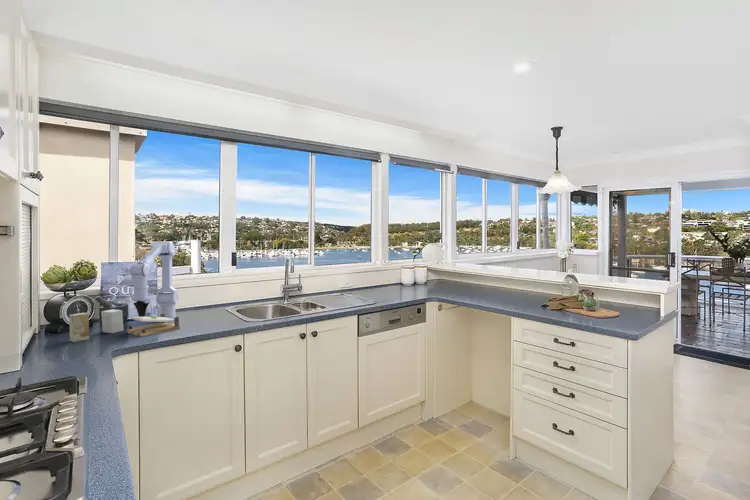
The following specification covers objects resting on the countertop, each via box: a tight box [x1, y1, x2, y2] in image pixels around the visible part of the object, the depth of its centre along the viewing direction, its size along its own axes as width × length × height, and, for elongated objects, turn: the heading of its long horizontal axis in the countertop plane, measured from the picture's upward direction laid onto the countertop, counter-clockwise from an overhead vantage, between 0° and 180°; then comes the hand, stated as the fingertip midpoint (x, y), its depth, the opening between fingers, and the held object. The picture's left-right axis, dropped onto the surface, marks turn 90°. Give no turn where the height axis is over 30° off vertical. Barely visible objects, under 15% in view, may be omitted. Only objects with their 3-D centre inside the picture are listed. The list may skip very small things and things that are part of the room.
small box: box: [100, 308, 124, 334], centre depth 189 cm, size 8×6×10 cm
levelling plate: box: [129, 314, 175, 323], centre depth 189 cm, size 12×17×2 cm
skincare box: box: [68, 312, 90, 343], centre depth 174 cm, size 6×4×12 cm
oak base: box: [126, 314, 181, 338], centre depth 189 cm, size 16×18×6 cm
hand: (141, 316), depth 185 cm, fingers closed
